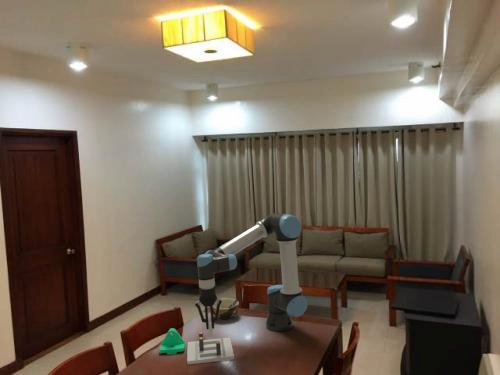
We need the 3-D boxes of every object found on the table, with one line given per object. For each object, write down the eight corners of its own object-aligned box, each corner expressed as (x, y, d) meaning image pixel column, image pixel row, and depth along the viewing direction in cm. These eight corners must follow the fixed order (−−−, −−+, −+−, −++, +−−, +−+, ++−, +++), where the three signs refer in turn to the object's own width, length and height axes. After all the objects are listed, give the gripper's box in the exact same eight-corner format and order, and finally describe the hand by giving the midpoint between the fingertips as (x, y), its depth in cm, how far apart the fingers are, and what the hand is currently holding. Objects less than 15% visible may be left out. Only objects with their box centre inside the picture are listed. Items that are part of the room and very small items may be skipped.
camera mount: (159, 355, 209) (158, 335, 208) (161, 348, 216) (160, 329, 216) (184, 353, 210) (182, 333, 209) (185, 346, 217) (184, 327, 217)
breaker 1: (203, 347, 210) (202, 336, 210) (203, 349, 208) (203, 339, 207) (199, 347, 210) (198, 337, 210) (199, 349, 207) (199, 339, 207)
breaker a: (203, 341, 217) (202, 331, 217) (203, 343, 215) (202, 333, 214) (199, 341, 217) (198, 331, 217) (199, 344, 214) (198, 333, 214)
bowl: (207, 323, 248) (206, 307, 248) (214, 312, 266) (213, 297, 265) (236, 323, 245) (235, 307, 245) (242, 312, 263) (241, 297, 262)
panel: (230, 340, 222) (229, 337, 222) (234, 359, 200) (233, 355, 200) (187, 345, 219) (187, 341, 219) (187, 364, 197) (187, 360, 197)
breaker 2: (220, 351, 204) (219, 340, 204) (220, 353, 202) (220, 343, 201) (216, 352, 204) (215, 341, 204) (216, 354, 202) (216, 343, 201)
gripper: (220, 283, 205) (223, 330, 207) (193, 286, 203) (197, 333, 205) (221, 287, 198) (225, 336, 199) (193, 290, 196) (197, 340, 198)
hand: (210, 335), depth 202 cm, fingers closed
